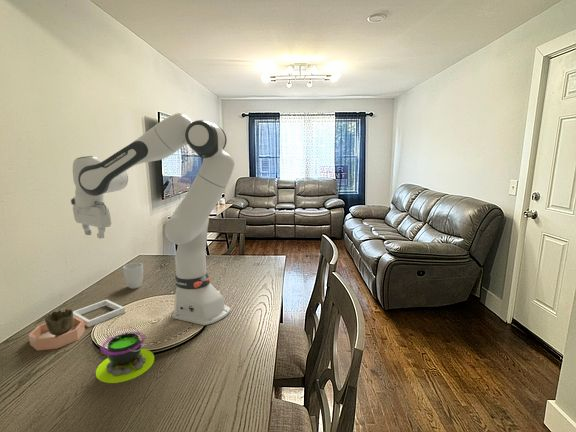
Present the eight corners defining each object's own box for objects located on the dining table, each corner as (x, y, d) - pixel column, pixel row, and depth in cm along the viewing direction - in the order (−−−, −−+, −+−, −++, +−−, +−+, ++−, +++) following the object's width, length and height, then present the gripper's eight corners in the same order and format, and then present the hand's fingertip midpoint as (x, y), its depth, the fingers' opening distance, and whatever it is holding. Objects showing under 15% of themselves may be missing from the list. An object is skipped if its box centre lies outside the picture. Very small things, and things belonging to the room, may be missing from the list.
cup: (148, 283, 148) (146, 263, 147) (138, 290, 140) (136, 269, 139) (131, 282, 149) (130, 262, 147) (121, 289, 141) (119, 268, 139)
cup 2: (43, 345, 97) (39, 321, 96) (53, 333, 104) (50, 310, 103) (71, 341, 100) (68, 317, 98) (79, 329, 106) (76, 307, 105)
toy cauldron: (163, 365, 89) (160, 330, 87) (104, 392, 79) (99, 352, 77) (143, 343, 100) (140, 311, 98) (89, 364, 90) (84, 329, 88)
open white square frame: (124, 312, 120) (124, 307, 120) (88, 327, 109) (88, 322, 109) (107, 303, 127) (106, 299, 127) (71, 317, 116) (70, 312, 116)
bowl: (91, 334, 105) (89, 324, 105) (42, 354, 94) (41, 344, 93) (72, 322, 113) (70, 313, 112) (25, 340, 101) (23, 330, 101)
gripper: (113, 201, 114) (117, 238, 117) (85, 198, 125) (89, 231, 128) (95, 203, 109) (100, 241, 112) (68, 199, 120) (72, 234, 122)
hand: (94, 236), depth 120 cm, fingers open, 8 cm apart
